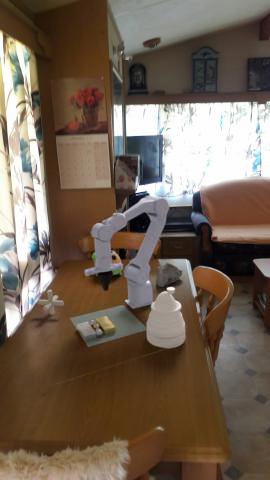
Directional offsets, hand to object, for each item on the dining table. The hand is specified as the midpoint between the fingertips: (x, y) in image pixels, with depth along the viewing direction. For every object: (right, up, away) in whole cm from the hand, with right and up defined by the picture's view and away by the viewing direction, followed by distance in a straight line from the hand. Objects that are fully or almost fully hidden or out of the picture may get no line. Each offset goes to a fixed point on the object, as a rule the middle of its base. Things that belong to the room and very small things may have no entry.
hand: (105, 289), depth 135 cm
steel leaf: (-4, -13, -11) cm, 18 cm away
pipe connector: (-21, -10, +4) cm, 24 cm away
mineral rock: (+27, -1, +29) cm, 39 cm away
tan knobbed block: (0, -13, -9) cm, 15 cm away
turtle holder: (-3, +2, +43) cm, 43 cm away
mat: (+1, -12, -5) cm, 13 cm away
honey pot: (+22, -14, -15) cm, 30 cm away
